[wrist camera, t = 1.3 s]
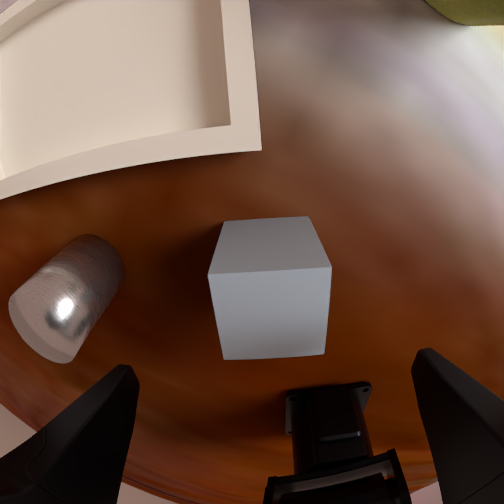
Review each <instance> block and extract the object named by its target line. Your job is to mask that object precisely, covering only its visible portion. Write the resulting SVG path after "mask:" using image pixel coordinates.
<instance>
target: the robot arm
mask: <svg viewBox="0 0 504 504" xmlns="http://www.w3.org/2000/svg"><path fill="white" fill-rule="evenodd" d="M411 374H412V378H413V383H414V387H415V392H416V397H417V402H418V407H419V411H420V415H421V418H422V422H423V425H424V428H425V432H426V435H427V438H428V442H429V446H430V449H431V453H432V457H433V461H434V465H435V469H436V473H437V477H438V482H439V486H440V491H441V496H442V501H443V504H504V400H502V399H501V398H500V397H498V396H497V395H496V394H494V393H493V392H491V391H490V390H489V389H487V388H486V387H485V386H483V385H482V384H481V383H479V382H478V381H476V380H475V379H474V378H472V377H471V376H470V375H468V374H467V373H465V372H464V371H463V370H461V369H460V368H458V367H457V366H456V365H454V364H453V363H452V362H450V361H449V360H447V359H446V358H445V357H443V356H442V355H440V354H439V353H437V352H436V351H435V350H433V349H432V348H425V349H420V350H419V351H418V352H417V355H416V357H415V360H414V362H413V365H412V368H411ZM139 388H140V385H139V381H138V379H137V377H136V375H135V373H134V371H133V369H132V367H131V366H130V365H123V364H119V365H117V366H116V367H114V368H113V369H112V370H111V371H110V372H108V373H107V374H106V375H105V376H104V377H103V378H101V379H100V380H99V381H98V382H97V383H95V384H94V385H93V386H92V387H91V388H89V389H88V390H87V391H86V392H85V393H83V394H82V395H81V396H80V397H79V398H77V399H76V400H75V401H74V402H73V403H72V404H70V405H69V406H68V407H67V408H66V409H64V410H63V411H62V412H61V413H60V414H58V415H57V416H56V417H55V418H54V419H52V420H51V421H50V422H49V423H48V424H47V425H46V426H44V427H43V428H42V429H40V430H39V431H38V432H37V433H36V434H34V435H33V436H32V437H31V438H29V439H28V440H27V441H25V442H24V443H22V444H21V445H20V446H18V447H17V448H15V449H13V450H12V451H11V452H9V453H7V454H6V455H4V456H3V457H1V458H0V504H117V499H118V494H119V489H120V484H121V480H122V475H123V470H124V466H125V462H126V457H127V453H128V449H129V445H130V441H131V437H132V433H133V428H134V422H135V415H136V408H137V401H138V395H139ZM371 390H372V386H371V384H370V383H369V382H364V383H358V384H351V385H344V386H337V387H328V388H319V389H309V390H298V391H290V392H287V393H286V404H285V433H286V434H287V435H292V444H293V460H294V475H289V476H282V477H277V476H273V477H268V483H267V486H266V488H265V494H264V500H263V504H412V502H411V497H410V494H409V490H408V487H407V484H406V481H405V478H404V475H403V472H402V469H401V466H400V463H399V460H398V457H397V454H396V451H395V448H393V449H391V450H388V451H387V452H385V453H382V454H379V455H376V456H374V455H373V451H372V447H371V443H370V438H369V434H368V430H367V426H366V422H365V419H364V415H363V412H364V409H365V406H366V404H367V401H368V398H369V396H370V393H371ZM384 476H387V479H386V480H384Z"/></svg>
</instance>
